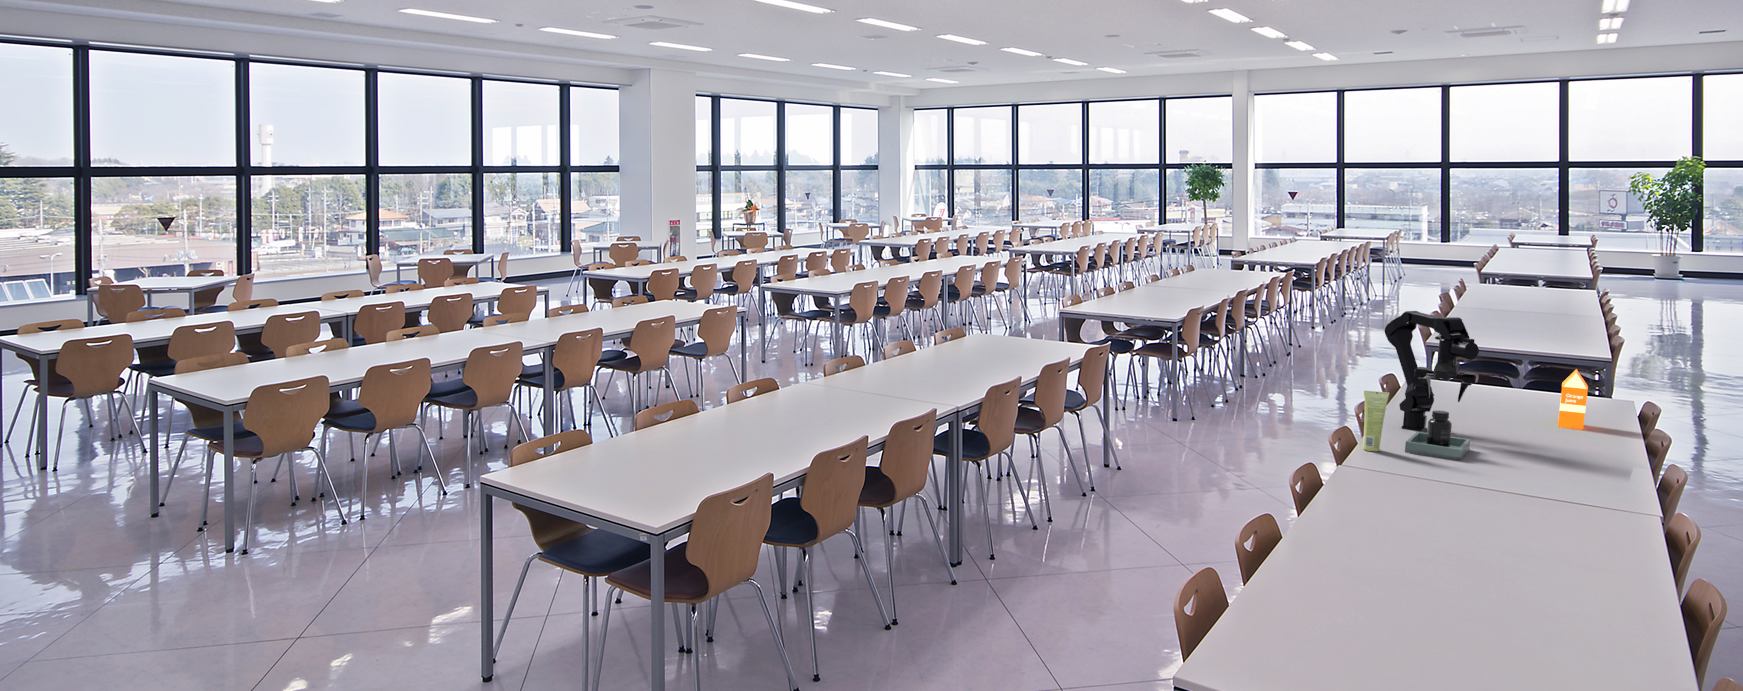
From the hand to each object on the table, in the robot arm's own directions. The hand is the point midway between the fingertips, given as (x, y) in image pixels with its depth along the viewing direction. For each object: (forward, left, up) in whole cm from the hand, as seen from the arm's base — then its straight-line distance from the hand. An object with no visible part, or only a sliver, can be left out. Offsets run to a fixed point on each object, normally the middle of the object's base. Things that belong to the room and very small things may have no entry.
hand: (1443, 399), depth 366 cm
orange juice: (+33, +47, -13) cm, 59 cm away
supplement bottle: (+3, -20, -12) cm, 23 cm away
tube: (-14, -32, -13) cm, 37 cm away
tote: (+3, -20, -13) cm, 24 cm away
